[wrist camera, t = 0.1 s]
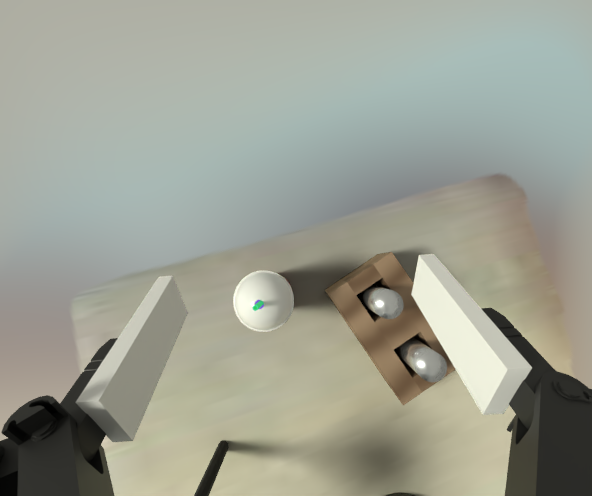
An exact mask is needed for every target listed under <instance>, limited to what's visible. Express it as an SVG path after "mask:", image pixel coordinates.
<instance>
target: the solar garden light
mask: <svg viewBox="0 0 592 496" xmlns="http://www.w3.org/2000/svg"><path fill="white" fill-rule="evenodd" d="M227 450H228V443H227V442H226V441H221V442H220V443H219V444H218V447H217V449H216V451H215V453H214V455H213V457H212V459H211V461H210V463H209V465H208V468H207V470H206V472H205V474H204V476H203V478H202V480H201V482H200V484H199V486H198V489H197V491H196V493H195V495H194V496H209V493H210V491H211V488H212V486H213V484H214V481H215V479H216V476H217V474H218V471H219V469H220V467H221V464H222V462H223V459H224V457H225V455H226V452H227Z"/></svg>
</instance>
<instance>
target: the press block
mask: <svg viewBox="0 0 592 496" xmlns="http://www.w3.org/2000/svg"><path fill="white" fill-rule="evenodd" d="M374 283H375V284H376V285H377V286H378V287H382V288H386V289H389V290H393V291H395V292H397V293H398V294H399V295H400V296H401V297H402V299H403V305H404V306H403V310H402V312H401V314H400V315H399V316H398V317H396V318H394V319H385V318H382V317H381V316H379V315H378V314H376V313H374V312H373V311H371V310H370V309H369V310H368V311H366V309H365V308H364V306H363V305H362V303H361V302H360V300H359V299H358V297H357V296H356V295H358V294H359V293H361V292H362V291H363V290H365V289H366V288H368V287H369V286H371V285H372V284H374ZM413 284H414V283H413V282H412V280H411V279H410V277H409V276H408V275H407V273H406V272H405V270H404V269H403V267H402V266H401V265H400V263H399V262H398V260H397V259H396V257H395V256H394V255H393V253H392V252H388V253H382V254H377V255H376V256H374V257H373V258H371V259H370V260H368V261H367V262H365V263H364V264H362V265H361V266H360V267H358V268H357V269H355V270H354V271H352V272H351V273H349V274H348V275H346V276H345V277H343V278H342V279H340V280H339V281H337V282H336V283H334V284H333V285H331V286H330V287H328V288H327V289H325V291H326V293H327V294H328V296H329V297H330V299H331V300H332V302H333V303H334V305H335V306H336V308H337V309H338V311H339V312H340V314H341V315H342V317H343V318H344V320H345V321H346V323H347V324H348V326H349V327H350V329H351V330H352V332H353V333H354V334H355V336H356V337H357V339H358V340H359V342H360V343H361V345H362V346H363V348H364V349H365V351H366V352H367V354H368V355H369V357H370V358H371V360H372V361H373V363H374V364H375V366H376V367H377V369H378V370H379V372H380V373H381V375H382V376H383V378H384V379H385V381H386V382H387V383H388V385H389V386H390V388H391V389H392V390H393V392H394V393H395V395H396V396H397V397H398V399H399V400H400V401H401V403H402V404H403V405H404V404H406V403H407V402H409V401H410V400H412V399H413V398H415V397H416V396H417V395H419V394H420V393H422V392H423V391H425V390H426V389H428V388H429V387H431V386H432V385H433V384H435V383H436V382H428V381H426V380H424V379H423V378H422V377H421V376H419V375H418V374H417V373H416V372H415V371H414V370H413V369H412V368H411V367H410V366H409V365H408V364H407V363H406V362H405V361H403V360H402V359H401V358H400V356H399V357H398V356H397V355H396V353H395V352H394V349H396V348H397V347H399V346H400V345H401V344H403V343H404V342H406V341H407V340H409V339H410V338H412V337H413V338H415V339H417V340H418V341H420V342H421V343H423V344H425V345H426V346H428V347H429V348H431V349H432V350H434V351H435V352H437V353H439V354H440V355H441V356H442V357H443V358H444V359H445V361H446V364H447V372H446V374H445V376H447V375H448V374H449V373H451V372H452V371H454V370H455V367H454V366H453V364H452V362H451V361H450V359H449V357H448V355H447V354H446V352H445V350H444V349H443V347H442V345H441V344H440V342H439V340H438V339H437V337H436V335H435V334H434V332H433V330H432V328H431V327H430V325H429V323H428V322H427V320H426V318H425V317H424V315H423V313H422V312H421V310H420V308H419V307H418V305H417V303H416V301H415V300H414V298H413V296H412V295H411V294H412V289H413ZM445 376H444V377H445ZM444 377H443V378H444ZM437 382H438V381H437Z"/></svg>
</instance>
